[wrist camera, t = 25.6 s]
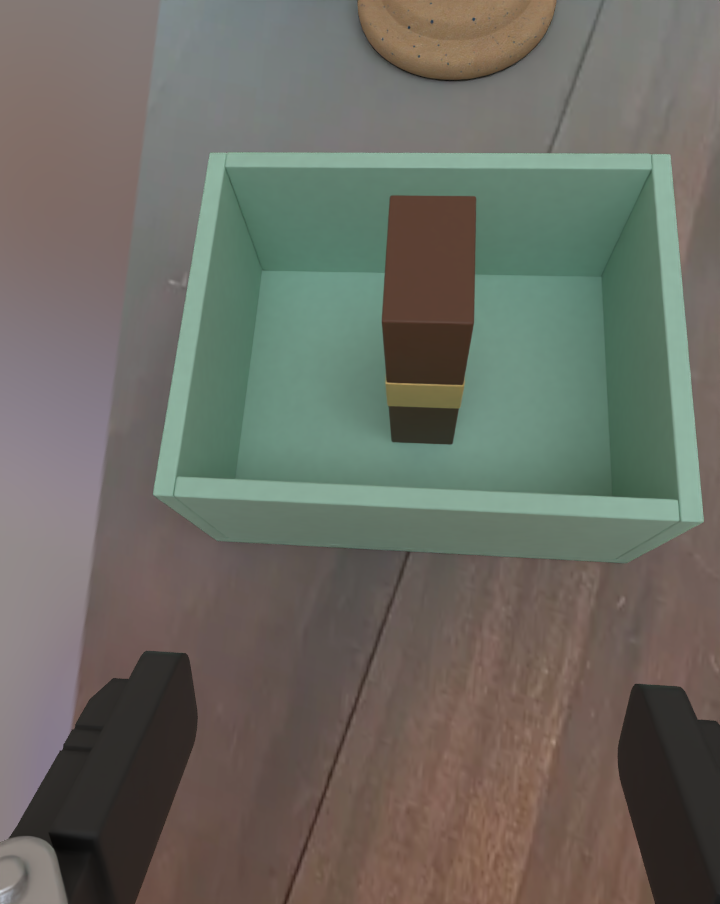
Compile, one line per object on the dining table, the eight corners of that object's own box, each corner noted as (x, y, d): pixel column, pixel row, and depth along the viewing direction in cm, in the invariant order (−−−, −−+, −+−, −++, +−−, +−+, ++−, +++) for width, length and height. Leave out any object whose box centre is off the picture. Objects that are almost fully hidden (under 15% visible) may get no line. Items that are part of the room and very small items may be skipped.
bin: (216, 541, 33) (151, 495, 25) (253, 266, 38) (209, 151, 30) (627, 563, 32) (705, 522, 23) (611, 272, 37) (671, 152, 28)
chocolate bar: (390, 443, 34) (379, 323, 22) (395, 350, 35) (388, 193, 24) (453, 446, 33) (475, 325, 22) (456, 351, 35) (478, 194, 24)
